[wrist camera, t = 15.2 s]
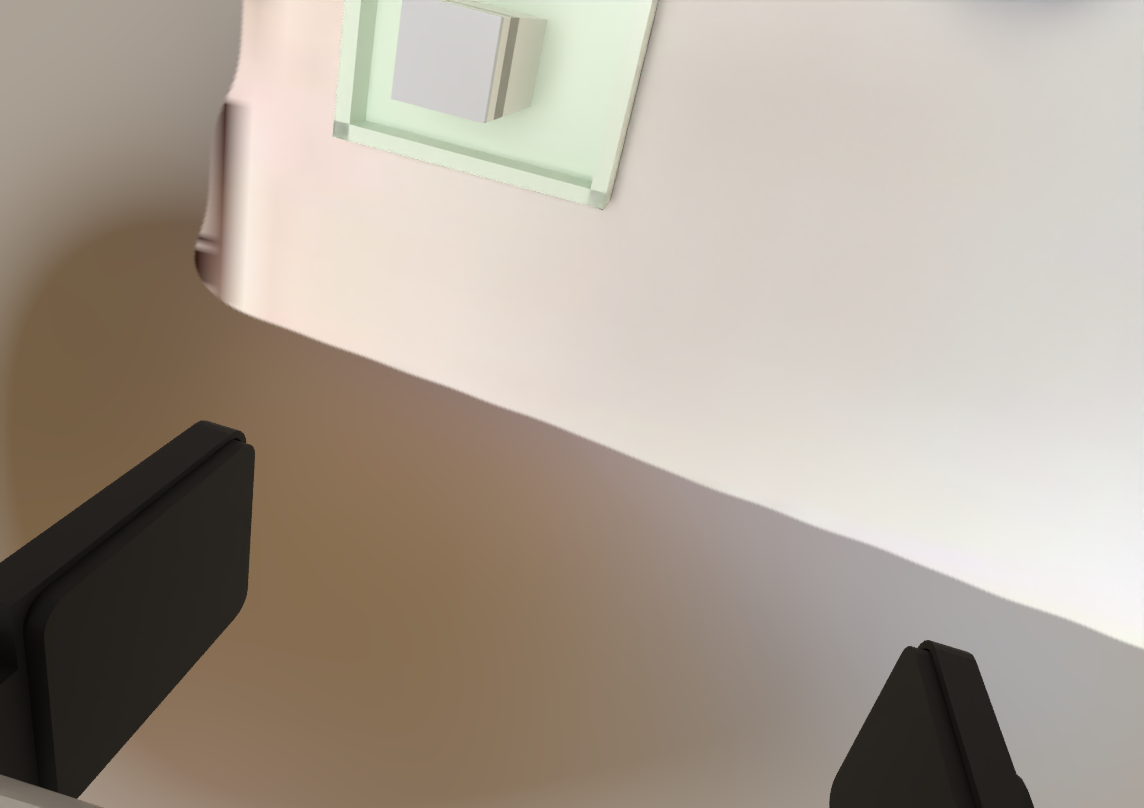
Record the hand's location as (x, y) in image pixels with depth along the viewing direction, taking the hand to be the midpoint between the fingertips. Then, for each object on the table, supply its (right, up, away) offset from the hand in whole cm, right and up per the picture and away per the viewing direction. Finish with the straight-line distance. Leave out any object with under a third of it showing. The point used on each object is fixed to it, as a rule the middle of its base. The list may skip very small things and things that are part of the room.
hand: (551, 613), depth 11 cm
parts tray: (-3, +20, +29) cm, 35 cm away
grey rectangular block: (-3, +20, +28) cm, 35 cm away
